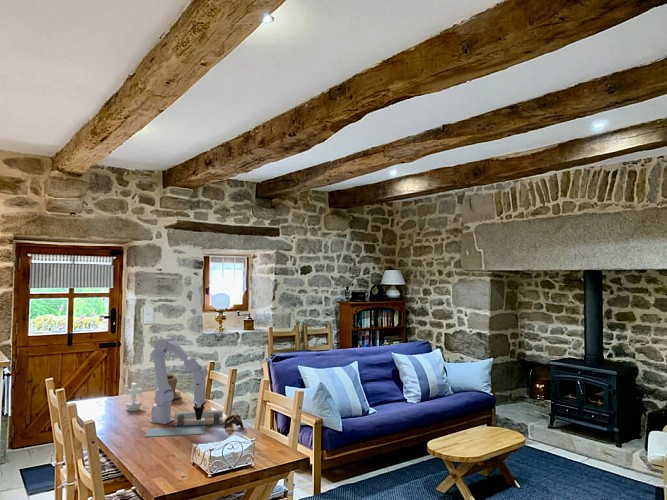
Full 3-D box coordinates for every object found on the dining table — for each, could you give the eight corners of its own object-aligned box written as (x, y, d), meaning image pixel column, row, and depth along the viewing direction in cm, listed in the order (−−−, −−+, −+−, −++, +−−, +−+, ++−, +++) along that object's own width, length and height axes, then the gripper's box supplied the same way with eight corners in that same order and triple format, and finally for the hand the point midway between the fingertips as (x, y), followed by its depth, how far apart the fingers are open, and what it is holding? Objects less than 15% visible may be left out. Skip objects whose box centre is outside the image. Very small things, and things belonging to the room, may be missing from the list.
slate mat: (144, 437, 237) (144, 436, 237) (147, 429, 249) (147, 428, 249) (204, 434, 243) (204, 433, 243) (205, 426, 255) (205, 425, 255)
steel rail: (174, 419, 254) (174, 413, 254) (175, 417, 257) (175, 412, 257) (222, 417, 260) (222, 411, 260) (222, 415, 263) (222, 410, 263)
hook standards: (174, 427, 252) (174, 416, 252) (175, 423, 259) (175, 412, 259) (222, 425, 258) (222, 414, 258) (222, 421, 264) (222, 411, 265)
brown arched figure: (243, 434, 247) (235, 420, 245) (226, 441, 248) (218, 427, 247) (248, 420, 258) (241, 407, 257) (233, 427, 260) (225, 414, 258)
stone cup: (159, 403, 297) (160, 378, 297) (154, 399, 306) (155, 374, 307) (184, 400, 305) (185, 375, 306) (179, 396, 315) (179, 372, 315)
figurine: (143, 409, 282) (144, 383, 283) (126, 412, 276) (127, 385, 277) (139, 407, 288) (140, 381, 289) (122, 409, 282) (123, 383, 283)
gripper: (207, 394, 253) (206, 421, 252) (208, 388, 267) (207, 413, 266) (193, 395, 251) (192, 422, 251) (194, 388, 265) (193, 414, 265)
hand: (198, 417), depth 258 cm, fingers open, 7 cm apart
